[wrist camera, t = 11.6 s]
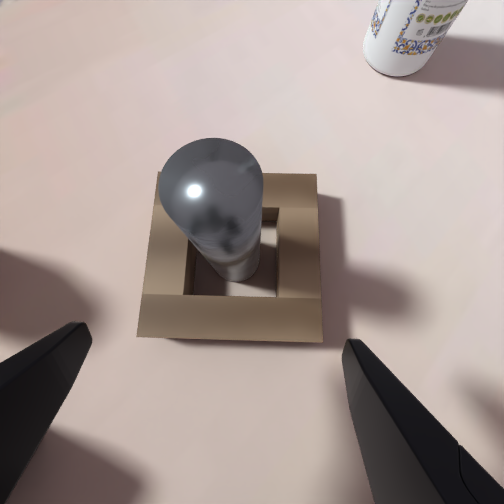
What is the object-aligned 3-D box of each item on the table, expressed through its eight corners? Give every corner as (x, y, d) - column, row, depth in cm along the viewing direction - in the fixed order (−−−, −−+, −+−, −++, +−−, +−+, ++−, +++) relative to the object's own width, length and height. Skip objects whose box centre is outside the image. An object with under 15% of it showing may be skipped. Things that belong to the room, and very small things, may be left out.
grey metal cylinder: (258, 282, 22) (262, 234, 9) (211, 281, 22) (152, 232, 9) (259, 237, 23) (264, 138, 10) (214, 236, 23) (164, 137, 10)
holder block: (313, 339, 21) (323, 342, 18) (152, 334, 21) (136, 337, 18) (309, 191, 24) (316, 173, 21) (169, 189, 24) (158, 171, 21)
